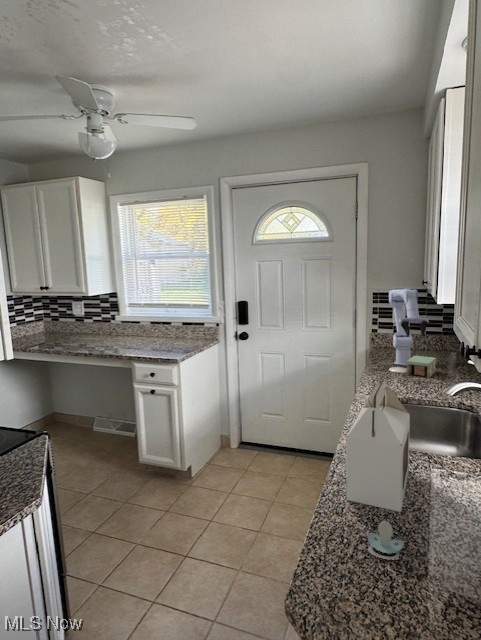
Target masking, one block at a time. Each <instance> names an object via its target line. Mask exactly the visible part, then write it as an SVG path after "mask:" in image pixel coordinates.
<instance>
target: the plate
mask: <svg viewBox="0 0 481 640" xmlns="http://www.w3.org/2000/svg"><path fill="white" fill-rule="evenodd" d="M388 371H389V372H390V373H396V374H407V367H401V366H395V367H389V369H388Z"/></svg>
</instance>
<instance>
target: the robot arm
mask: <svg viewBox="0 0 481 640" xmlns="http://www.w3.org/2000/svg"><path fill="white" fill-rule="evenodd" d="M388 291H389V292H388V303H389V306H391V307H393V314H394V320H395V325H396V327H395V328H396V332H395V333H394V334H393V336H392V345H393V347H394V348H395V361H394V362H393V365H399V366H400V365H401V366H407V364H406V361H407V360H409V359H410V358H412V357H411V356H412V355H411V354H412V351H411V348H412V347H413V346H414V345H413V344H414V340H413V337H412V334H411V333H410V323H411V324H414V323H415V324H416V323H417V324H419V323H420V324H419V325H418V326H419V329H420V335H421V337H422V338H423V337H425V335H426V328H427V326H428V324H429V322H430V321H429V318H425V317H420V314H419V312H420V311H419V305H418V299H419V292H418V290H417V289H412V288H409V287H405V288H400V289H392V290H391V289H390V290H388ZM404 306H405V309H406V317H404V311H403V307H404Z"/></svg>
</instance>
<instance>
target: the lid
mask: <svg viewBox="0 0 481 640" xmlns="http://www.w3.org/2000/svg"><path fill="white" fill-rule="evenodd" d="M435 361H436V362H437V357H433V356H431V357H430V356H422V355H413V356H412V357H411V358H410V359H409V360H407V361H406V364H412V365H421V366H430V365H431V364H433V363H434V362H435Z"/></svg>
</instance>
